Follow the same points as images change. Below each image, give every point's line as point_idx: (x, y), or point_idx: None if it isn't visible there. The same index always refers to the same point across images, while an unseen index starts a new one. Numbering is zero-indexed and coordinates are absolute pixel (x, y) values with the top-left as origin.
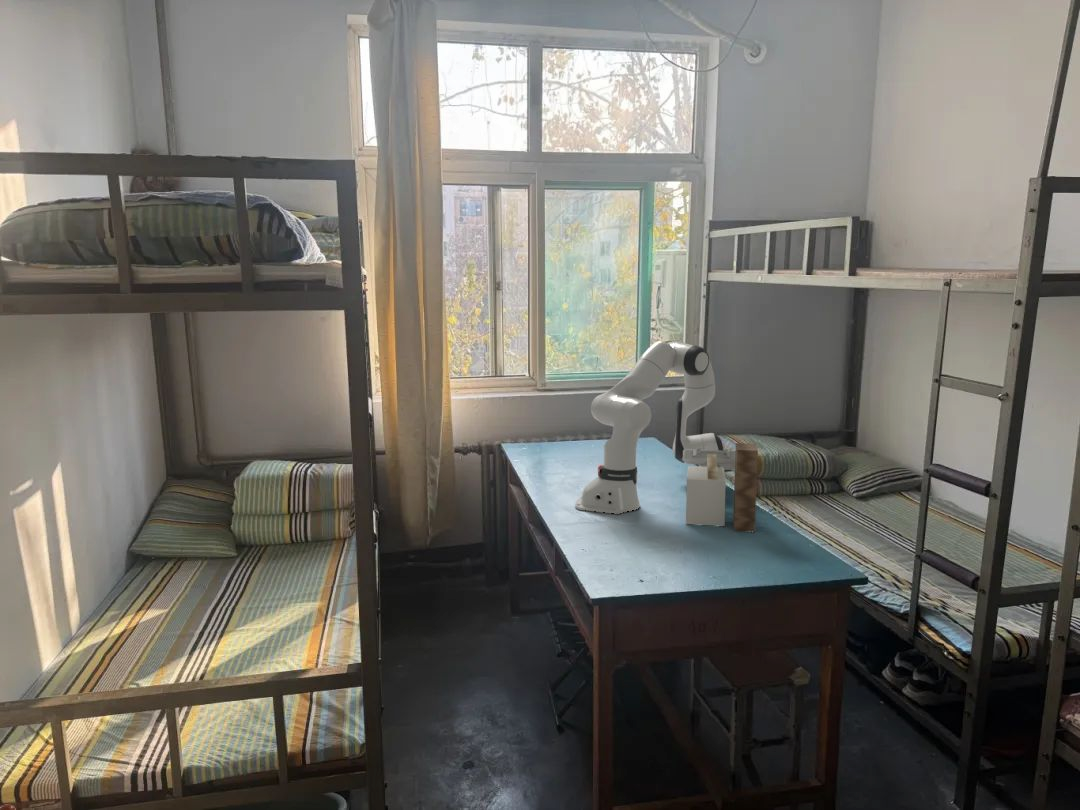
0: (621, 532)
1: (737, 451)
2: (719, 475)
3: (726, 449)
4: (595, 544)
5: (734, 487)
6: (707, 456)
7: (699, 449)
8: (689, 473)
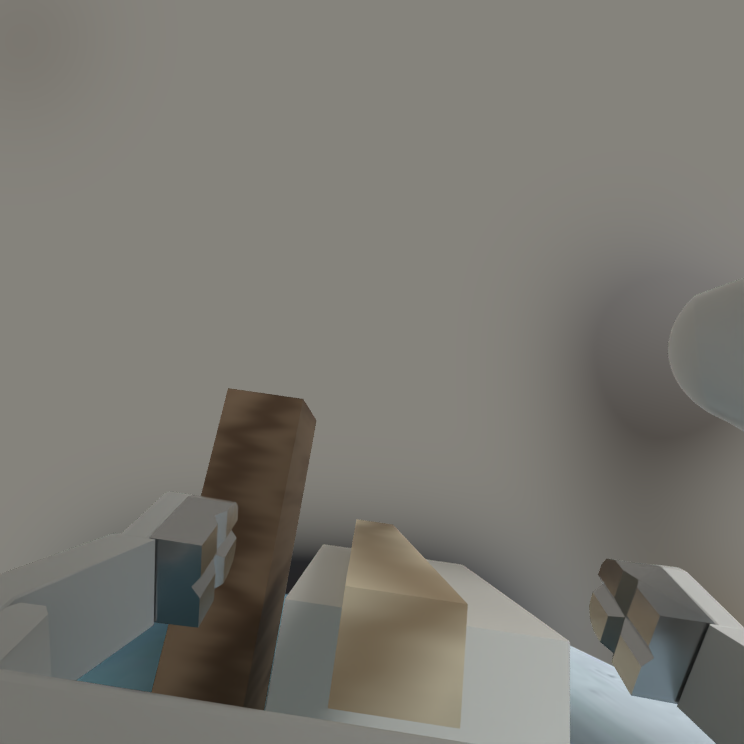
0: (618, 736)
1: (315, 425)
2: (339, 560)
3: (193, 497)
4: (609, 688)
5: (267, 597)
6: (439, 575)
7: (611, 572)
8: (480, 584)
